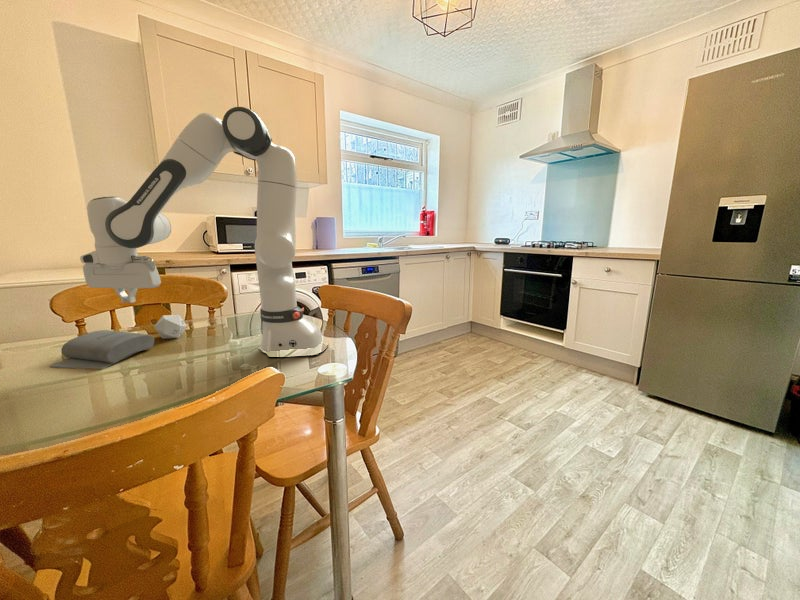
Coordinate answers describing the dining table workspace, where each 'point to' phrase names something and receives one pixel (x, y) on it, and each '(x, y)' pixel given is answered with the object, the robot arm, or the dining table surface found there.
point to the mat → (84, 363)
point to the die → (170, 326)
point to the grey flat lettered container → (106, 345)
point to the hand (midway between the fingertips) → (128, 302)
